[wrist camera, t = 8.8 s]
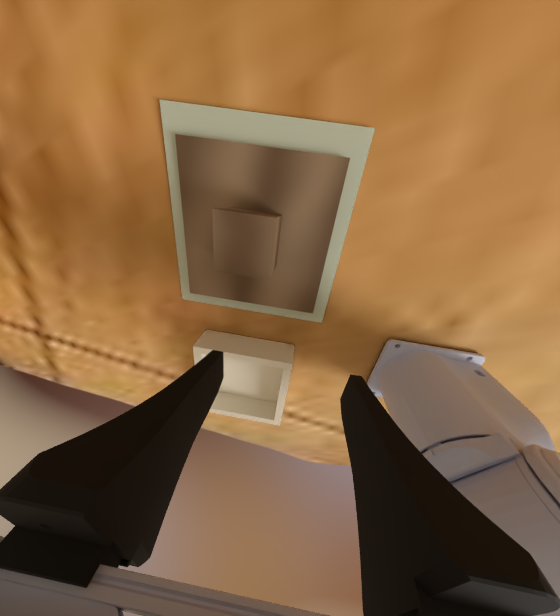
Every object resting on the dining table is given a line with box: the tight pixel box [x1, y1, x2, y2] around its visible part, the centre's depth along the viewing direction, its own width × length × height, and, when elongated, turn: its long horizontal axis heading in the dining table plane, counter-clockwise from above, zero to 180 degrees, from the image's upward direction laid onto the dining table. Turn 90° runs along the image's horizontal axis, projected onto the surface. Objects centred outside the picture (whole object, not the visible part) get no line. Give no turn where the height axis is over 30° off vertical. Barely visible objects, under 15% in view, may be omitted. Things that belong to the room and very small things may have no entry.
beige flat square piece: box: [160, 100, 375, 323], centre depth 17 cm, size 14×15×1 cm
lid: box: [175, 134, 350, 314], centre depth 15 cm, size 12×12×4 cm
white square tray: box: [193, 329, 294, 426], centre depth 23 cm, size 10×10×3 cm
